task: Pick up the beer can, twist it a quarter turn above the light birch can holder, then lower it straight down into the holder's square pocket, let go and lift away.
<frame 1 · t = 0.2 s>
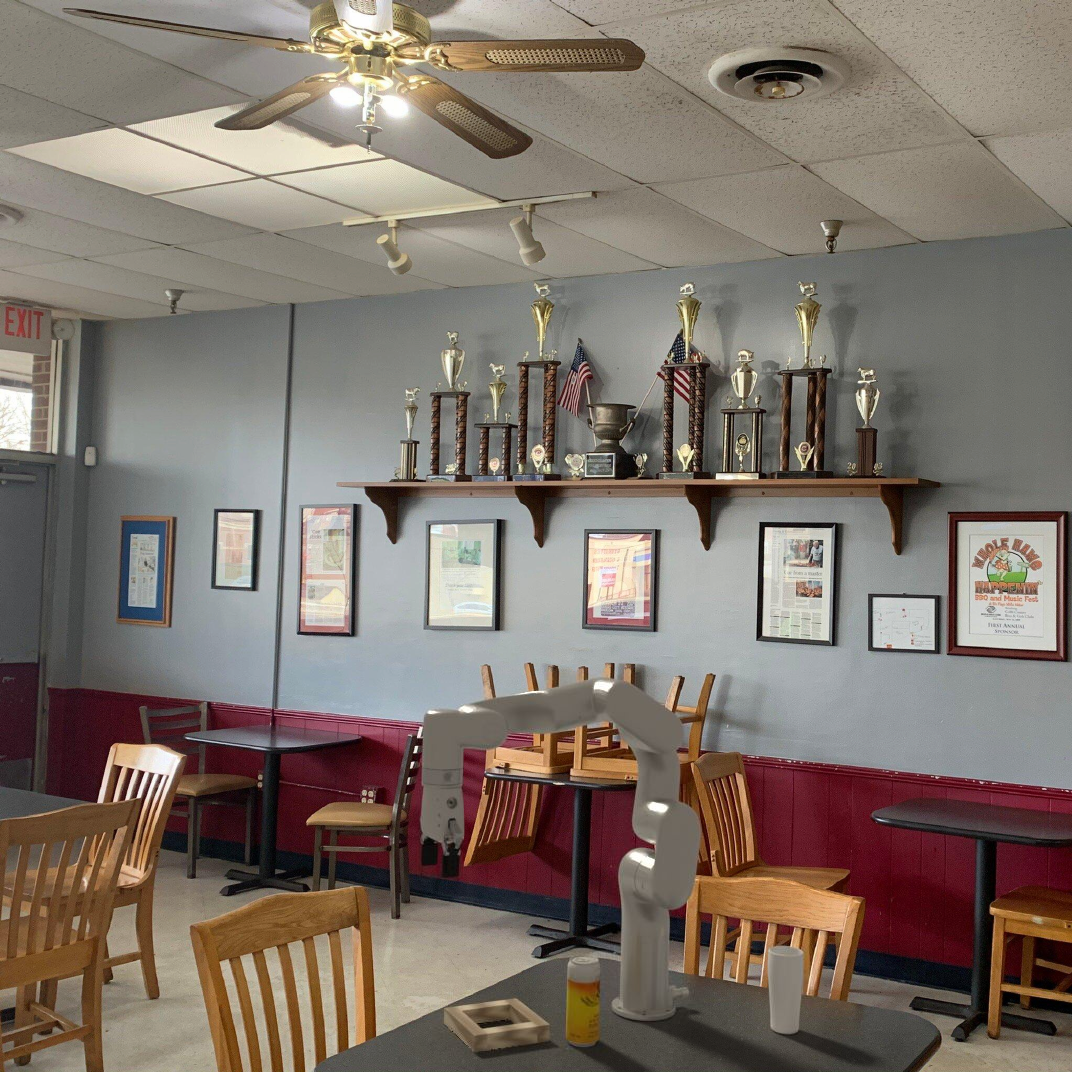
hand: (439, 871, 220), 31 cm above the table, tool pointing down, fingers open, 9 cm apart
drinking glass: (784, 1031, 229), on the table
beer can: (582, 1042, 220), on the table
can holder: (495, 1032, 224), on the table
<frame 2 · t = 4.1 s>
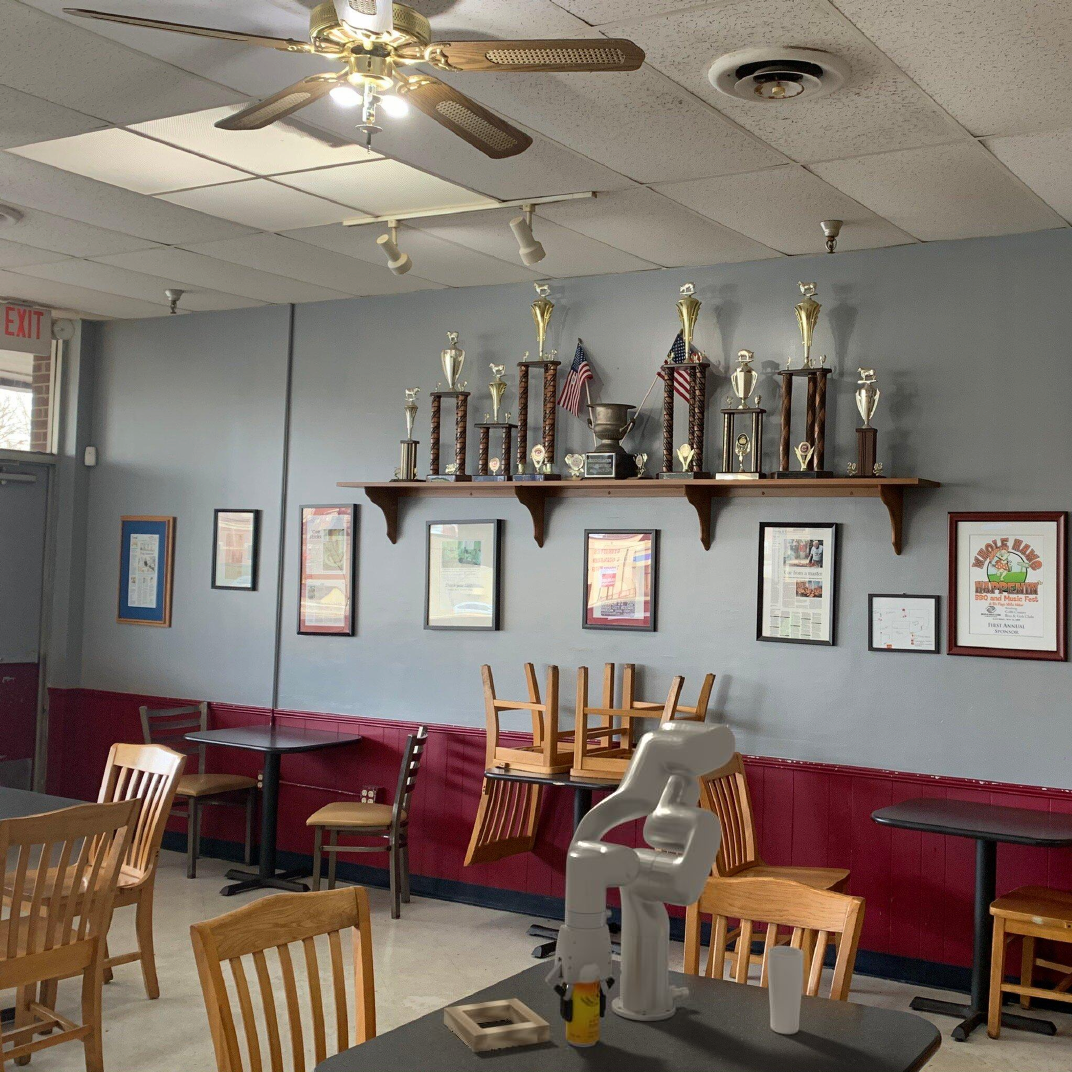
hand: (582, 1016, 221), 5 cm above the table, tool pointing down, fingers closed on beer can, 6 cm apart
beer can: (582, 1042, 220), on the table, touching gripper
everything else where it was.
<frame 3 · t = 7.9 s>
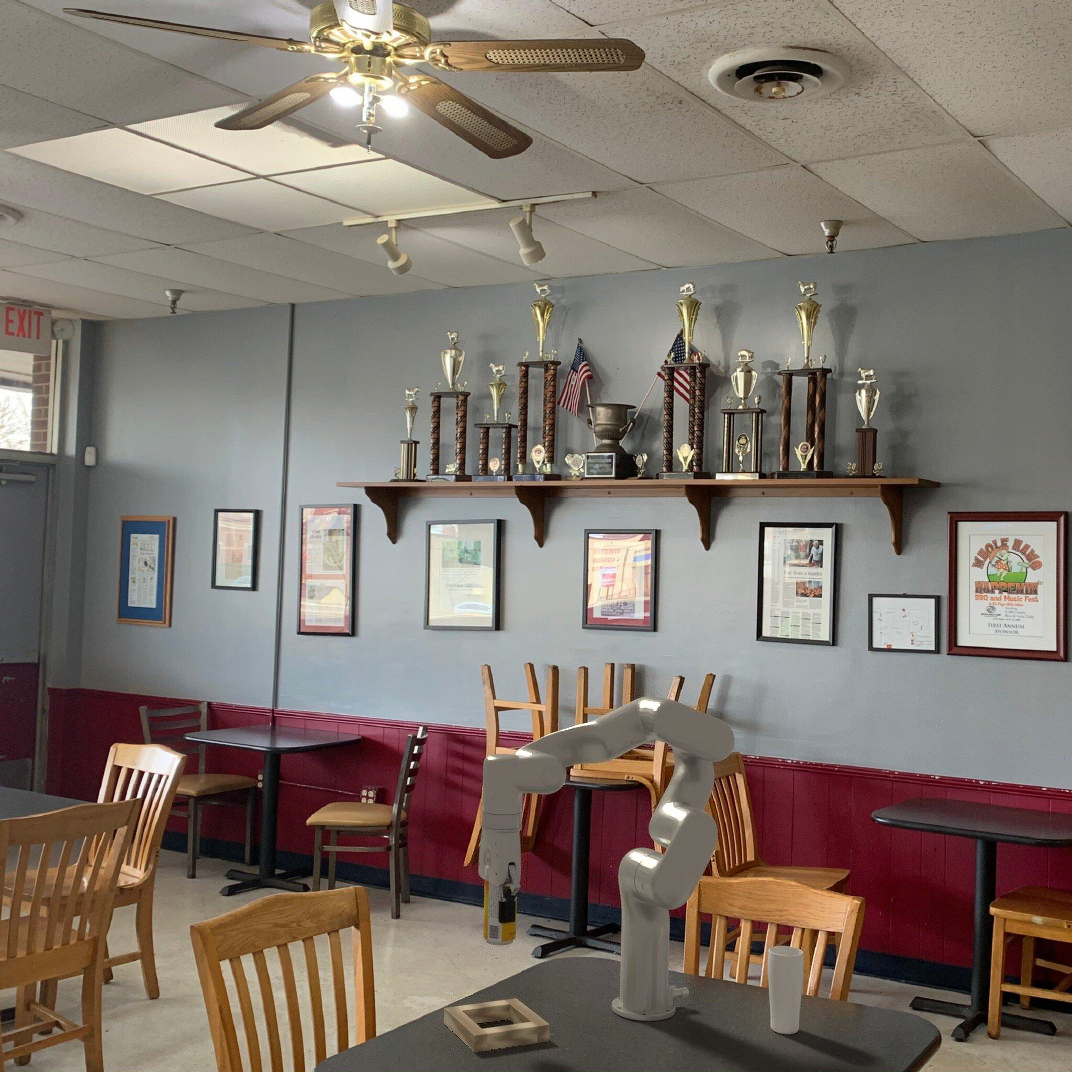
hand: (499, 916, 225), 21 cm above the table, tool pointing down, fingers closed on beer can, 6 cm apart
beer can: (499, 942, 225), point 17 cm above the table, touching gripper
everything else where it was.
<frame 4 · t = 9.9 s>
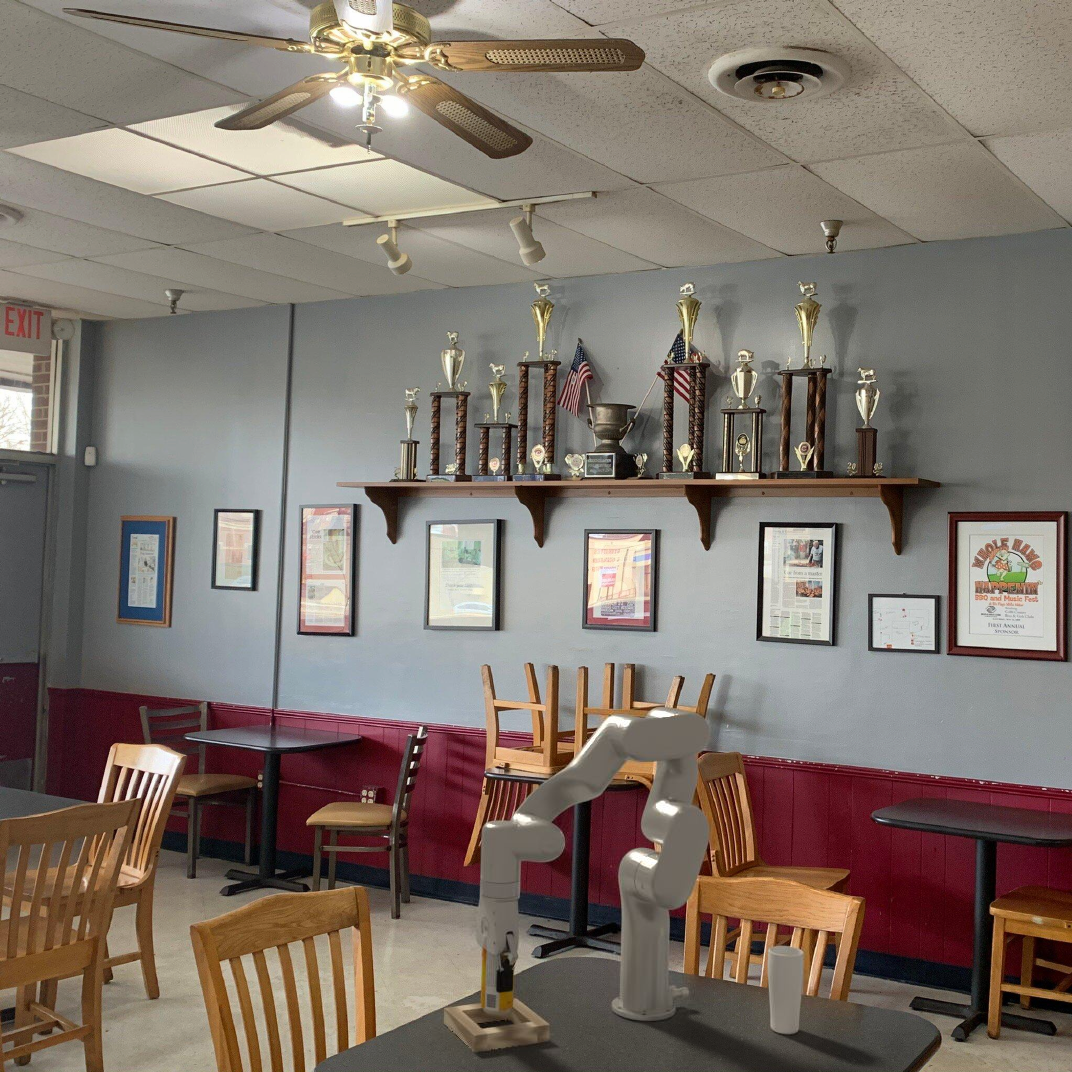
hand: (497, 984, 224), 9 cm above the table, tool pointing down, fingers closed on beer can, 6 cm apart
beer can: (496, 1010, 224), point 4 cm above the table, touching gripper
everything else where it was.
when the fingers open (5 cm above the table, at t = 11.9 s): beer can stays where it is, resting in can holder.
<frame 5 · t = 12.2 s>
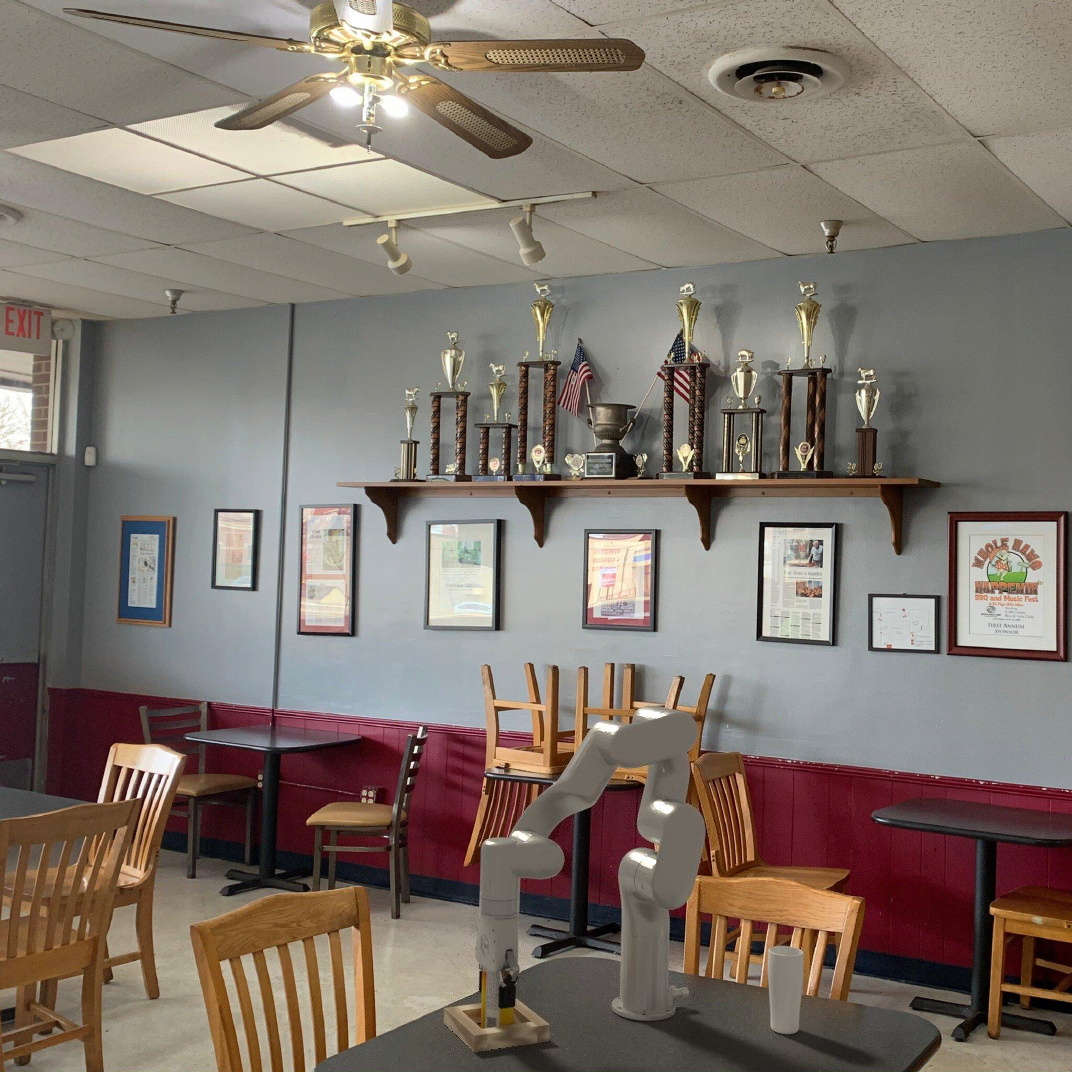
hand: (496, 999, 224), 6 cm above the table, tool pointing down, fingers open, 8 cm apart
beer can: (496, 1033, 224), resting in can holder
everything else where it was.
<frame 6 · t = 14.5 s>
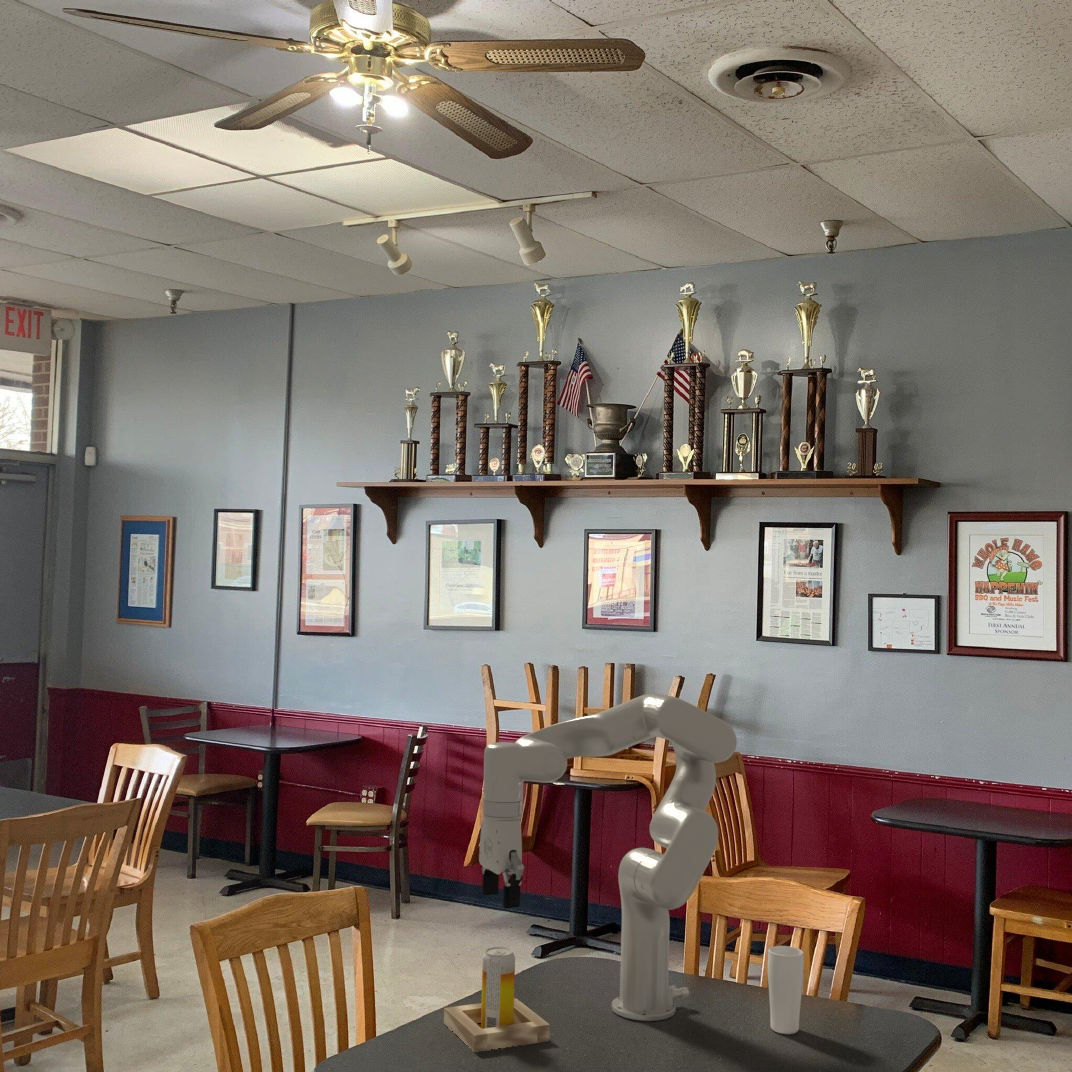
hand: (500, 900, 225), 24 cm above the table, tool pointing down, fingers open, 9 cm apart
nothing on the table moved.
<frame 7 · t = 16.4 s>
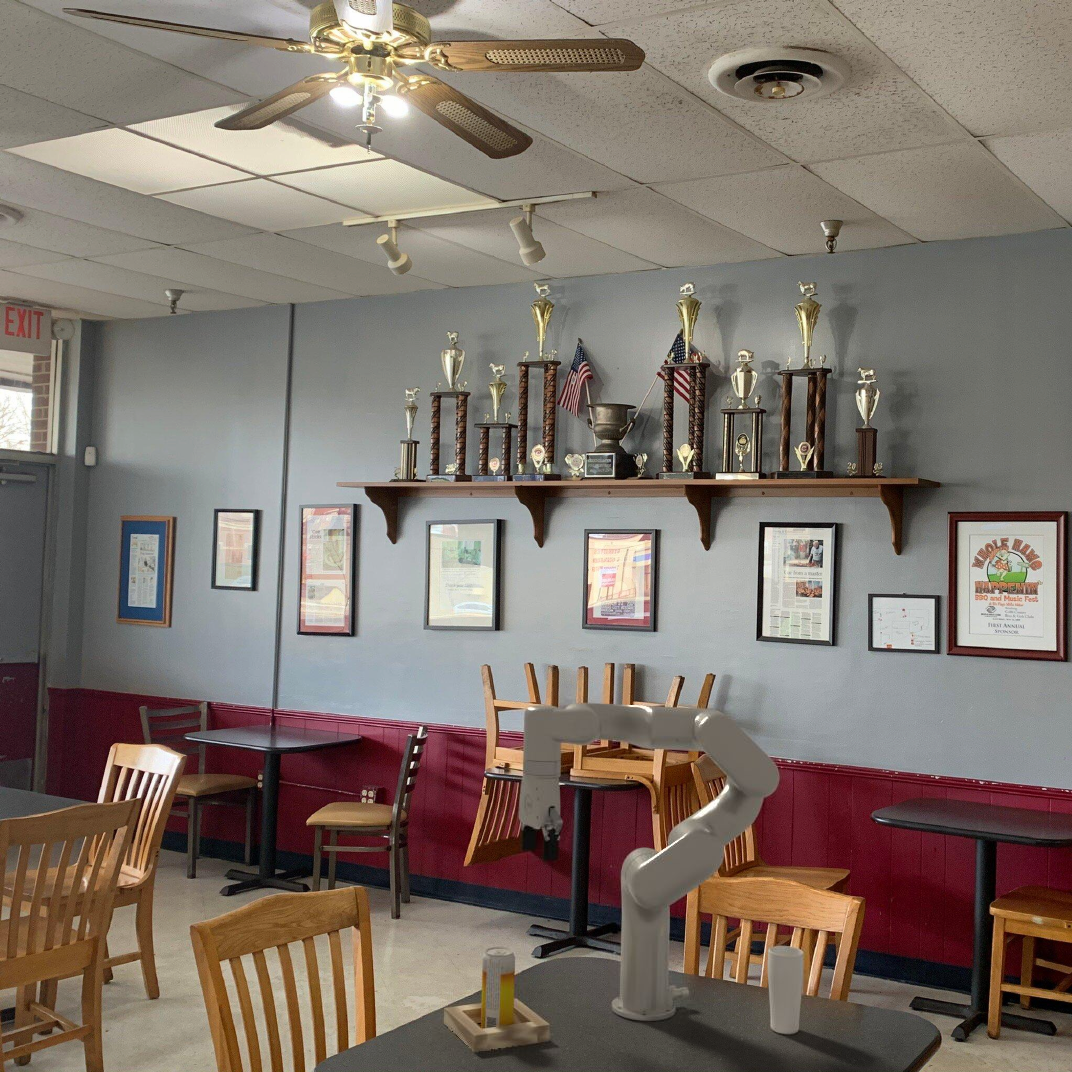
hand: (539, 855, 237), 30 cm above the table, tool pointing down, fingers open, 9 cm apart
nothing on the table moved.
at the end: beer can 0.2 cm off-centre on the can holder, point 0.0 cm above the can holder's base; beer can tilted 0°; the gripper is holding nothing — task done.
